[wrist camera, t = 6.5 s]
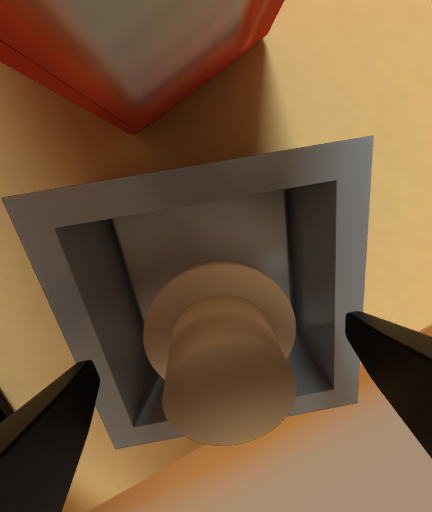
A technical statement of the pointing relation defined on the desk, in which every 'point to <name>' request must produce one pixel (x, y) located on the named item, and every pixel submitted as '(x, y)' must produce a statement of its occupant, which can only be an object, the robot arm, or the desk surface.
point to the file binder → (129, 49)
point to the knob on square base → (216, 313)
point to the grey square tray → (189, 193)
